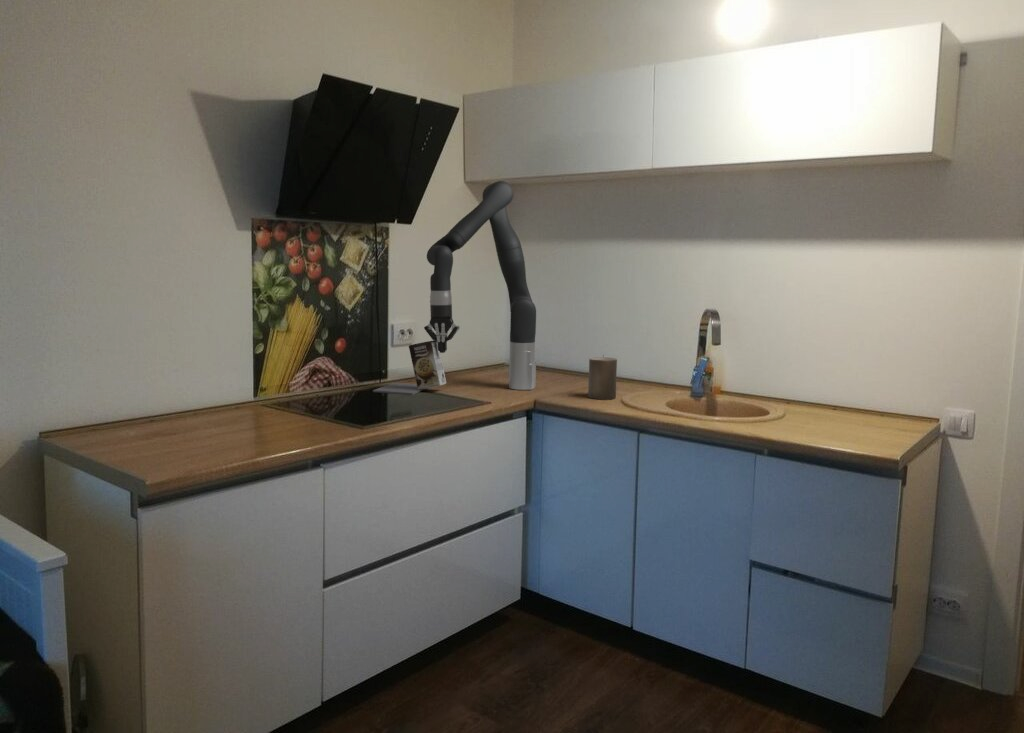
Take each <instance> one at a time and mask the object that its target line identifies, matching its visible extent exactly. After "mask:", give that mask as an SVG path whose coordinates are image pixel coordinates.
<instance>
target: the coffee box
mask: <svg viewBox="0 0 1024 733" xmlns="http://www.w3.org/2000/svg"><path fill="white" fill-rule="evenodd" d="M408 350H409V354H410V359H411V363H412V368H413V373H414V378H415V381H416V382H415V384H417V387H418V390H419V389H425V388H427V389H429V388H435V387H440V386H443V385H446V384H447V379H446V375H445V370H444V365H443V360H442V355H441V353H440V351H438V342H437V341H435V340H430V341H429V340H428V341H423V342H417V343H412V344H409V345H408ZM425 390H426V389H425Z"/></svg>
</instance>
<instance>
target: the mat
mask: <svg viewBox="0 0 1024 733" xmlns="http://www.w3.org/2000/svg"><path fill="white" fill-rule="evenodd" d="M427 389H428V388H425V389H419V390H418V387H417V383H406V382H404V383H403V382H392V383H388V384H386V385H383V386H380V387H379V388H376V389H373V390H372V393H381V394H383V393H384V394H396V395H397V394H399V395H412V396H413V395H416V394H417V393H420V392H423V391H425V390H427Z"/></svg>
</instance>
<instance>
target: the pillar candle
mask: <svg viewBox="0 0 1024 733" xmlns="http://www.w3.org/2000/svg"><path fill="white" fill-rule="evenodd" d="M604 356H605V355H604V354H603V355H602V356H600V357H598V356H597V357H596V356H595V357H589V358H588V359H589V360H588V390H587V391H588V392H587V397H588V398H589V399H597V400H614V399H617V398H616V397H617V371H618V370H617V369H618V368H617V367H618V359H617V358H616V357H609V356H608V357H606V356H605V357H604Z"/></svg>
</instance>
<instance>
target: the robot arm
mask: <svg viewBox="0 0 1024 733" xmlns="http://www.w3.org/2000/svg"><path fill="white" fill-rule="evenodd" d="M514 195H515V194H514V188H513V187H512V185H511V184H510V183H508V182H506V181H503V180H499V181H495V182H493V183H491V184H489V185H487V186H485V188H484V189H483V192H482V200H481V202H480V203H478V205H477V206H476V207H474V208H473V209H472V210H471V211H470V212H468V213H467V214H466V215H465V216H463V217H462V218H461V219H460V220H459V221H458V222H457V223H456V224H455V225H454V226H453V227H452V228H451V229H450V230H448V232H447V233H446V234H445V235H444V236H443V237H441V238H440V239H439V240H437V241H436V242H435V243H434V244H432V245H431V246H430V247H429V249H428V250H427V253H426V261H427V262H428V263H429V264H430V265H432V266H434V267H433V273H432V274H431V275H430V279H429V280H430V281H429V282H430V285H429V286H430V288H429V289H430V296H429V303H430V305H429V307H430V311H429V312H430V320H429V323H428V324H427V325H425V326H424V327H423V329H424V330H425V331H426V333H427V335H429V337H430V338H431V340H432V341H434V340H435V341H437V342H438V351H440V354H443V353H446V352H447V349H448V346H447V342H448V341H450V340H453V338H454V337H455V335H456V334H457V333H458V331H459V330H460V325H456V324H455V323H454V320H453V302H452V300H453V299H452V298H453V297H452V292H451V290H452V289H451V287H452V286H451V284H452V283H451V277H452V276H451V275H452V271H453V265H454V255H453V253H454V252H455V251H458V250H461V249H462V248H463V247H464V246H465V245H466V244H467V243H468V242H469V241H470V240H471V239H472V237H474V235H475V234H476V233H477V232H478V231H479V230H480V229H481V228H482V227H483V225H485V224H486V223H487V222H488V221H489V223H490V227H491V231H492V237H493V241H494V246H495V251H496V255H497V261H498V263H499V267H500V270H501V274H502V277H503V278H504V281H505V283H506V287H507V291H508V298H509V307H510V308H509V310H510V311H509V312H510V325H509V326H510V328H509V329H510V330H509V365H508V366H509V370H508V371H509V372H508V374H509V375H508V388H509V389H510V390H511V389H512V390H518V391H527V390H529V391H530V390H531V391H532V390H534V389H535V388H536V379H537V378H536V375H537V372H536V371H537V370H536V369H537V362H536V361H535V356H536V354H535V352H536V334H537V333H536V332H537V308H536V305H535V303H534V302H533V299H532V297H531V294H530V290H529V287H528V283H527V274H526V272H527V271H526V261H525V256H524V252H523V248H522V243H521V241H520V238H519V237H518V234H517V233H516V231H515V230H514V228H513V226H512V225H511V222H510V220H509V216H508V214H509V213H508V210H507V206H509V205H510V204H511V202H513V199H514ZM450 330H451V331H450ZM449 331H450V333H449Z"/></svg>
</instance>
